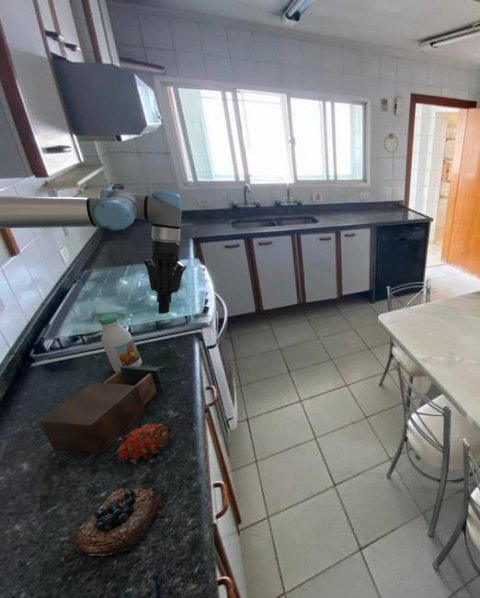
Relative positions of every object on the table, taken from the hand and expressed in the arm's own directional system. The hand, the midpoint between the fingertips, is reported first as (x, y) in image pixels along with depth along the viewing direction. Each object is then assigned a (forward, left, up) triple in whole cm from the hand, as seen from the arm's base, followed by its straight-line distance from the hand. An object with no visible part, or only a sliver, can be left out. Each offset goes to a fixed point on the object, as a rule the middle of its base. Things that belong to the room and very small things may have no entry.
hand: (163, 312), depth 109 cm
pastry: (+25, -54, -20) cm, 63 cm away
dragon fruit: (+17, -37, -20) cm, 45 cm away
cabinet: (0, -31, -20) cm, 37 cm away
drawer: (0, -19, -19) cm, 27 cm away
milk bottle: (-14, -5, -20) cm, 25 cm away
